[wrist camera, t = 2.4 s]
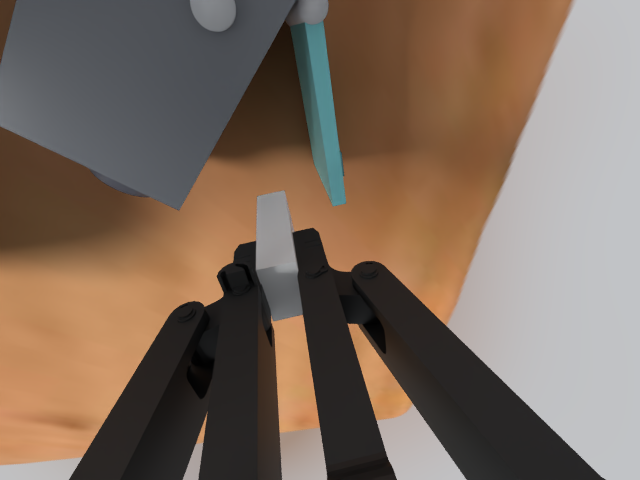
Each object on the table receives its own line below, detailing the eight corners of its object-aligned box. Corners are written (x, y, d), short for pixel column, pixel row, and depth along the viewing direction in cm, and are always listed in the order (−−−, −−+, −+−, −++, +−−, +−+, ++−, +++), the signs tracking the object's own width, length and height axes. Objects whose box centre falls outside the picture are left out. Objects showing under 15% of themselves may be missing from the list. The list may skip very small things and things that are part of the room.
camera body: (74, 111, 26) (-33, 157, 17) (152, -107, 21) (59, -234, 11) (193, 174, 31) (163, 240, 21) (284, 7, 25) (302, -11, 15)
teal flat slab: (310, 164, 32) (330, 210, 23) (282, 4, 25) (295, -11, 16) (331, 159, 32) (358, 204, 24) (309, -1, 25) (335, -18, 16)
